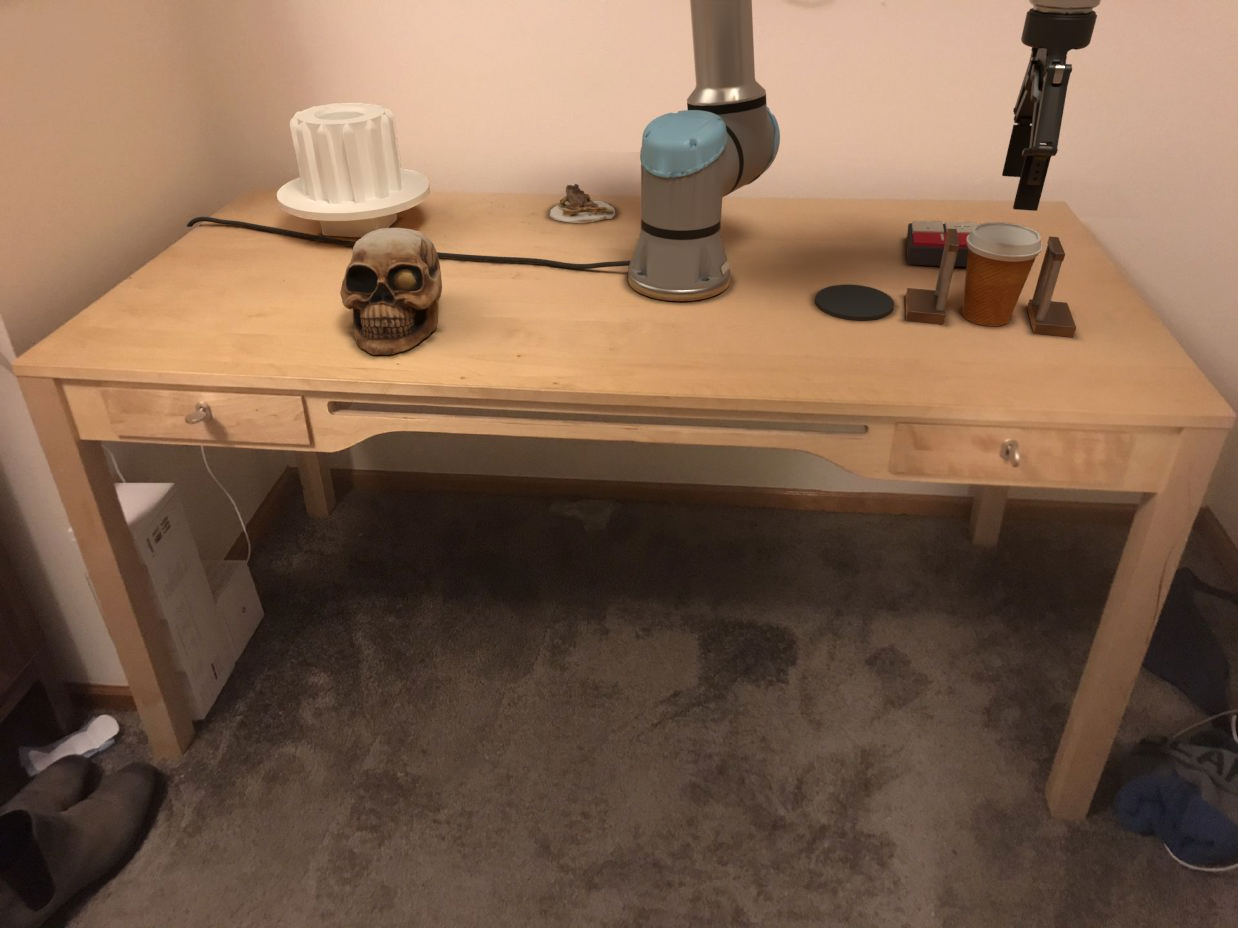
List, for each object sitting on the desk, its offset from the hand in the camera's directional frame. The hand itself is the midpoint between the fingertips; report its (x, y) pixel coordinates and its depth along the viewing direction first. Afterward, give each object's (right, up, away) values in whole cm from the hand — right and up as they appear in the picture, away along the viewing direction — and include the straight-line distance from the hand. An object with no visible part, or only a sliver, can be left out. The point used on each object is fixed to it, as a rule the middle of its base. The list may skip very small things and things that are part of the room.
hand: (1018, 192), depth 115 cm
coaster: (-18, -12, +14) cm, 25 cm away
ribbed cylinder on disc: (-96, +6, +40) cm, 104 cm away
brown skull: (-82, -15, +9) cm, 84 cm away
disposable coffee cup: (0, -14, +10) cm, 18 cm away
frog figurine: (-58, +10, +46) cm, 75 cm away
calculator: (+2, -2, +28) cm, 28 cm away
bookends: (0, -14, +10) cm, 17 cm away
